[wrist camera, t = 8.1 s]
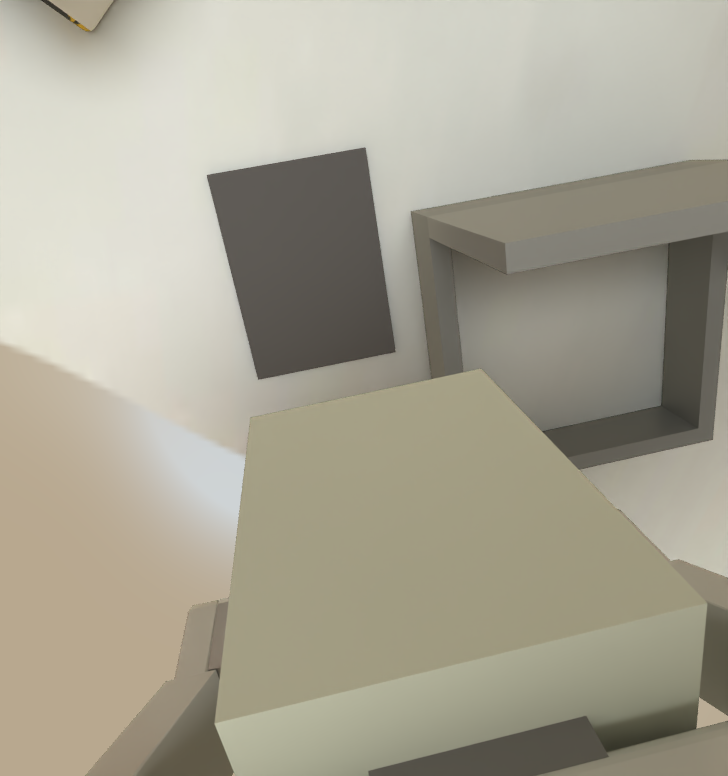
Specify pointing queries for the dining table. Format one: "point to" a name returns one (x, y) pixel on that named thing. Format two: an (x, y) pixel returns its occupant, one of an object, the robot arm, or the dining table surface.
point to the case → (593, 239)
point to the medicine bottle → (81, 11)
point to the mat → (305, 261)
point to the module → (441, 597)
